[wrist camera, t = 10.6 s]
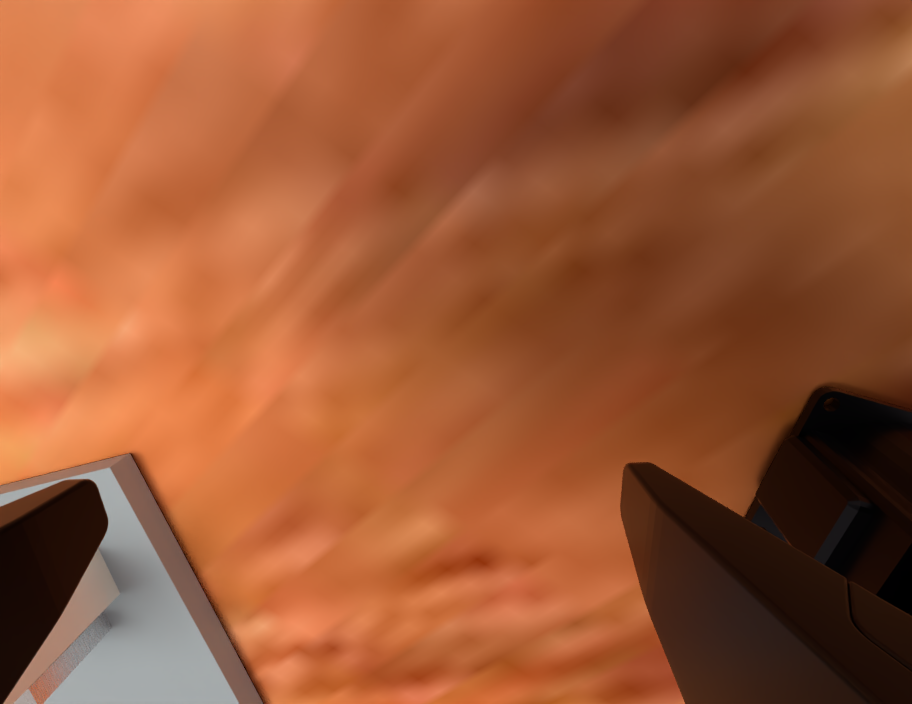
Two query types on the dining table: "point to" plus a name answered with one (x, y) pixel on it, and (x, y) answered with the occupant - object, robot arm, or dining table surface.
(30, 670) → the cream rectangular block
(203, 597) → the board
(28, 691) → the hinge clip
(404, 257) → the dining table surface
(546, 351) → the dining table surface
